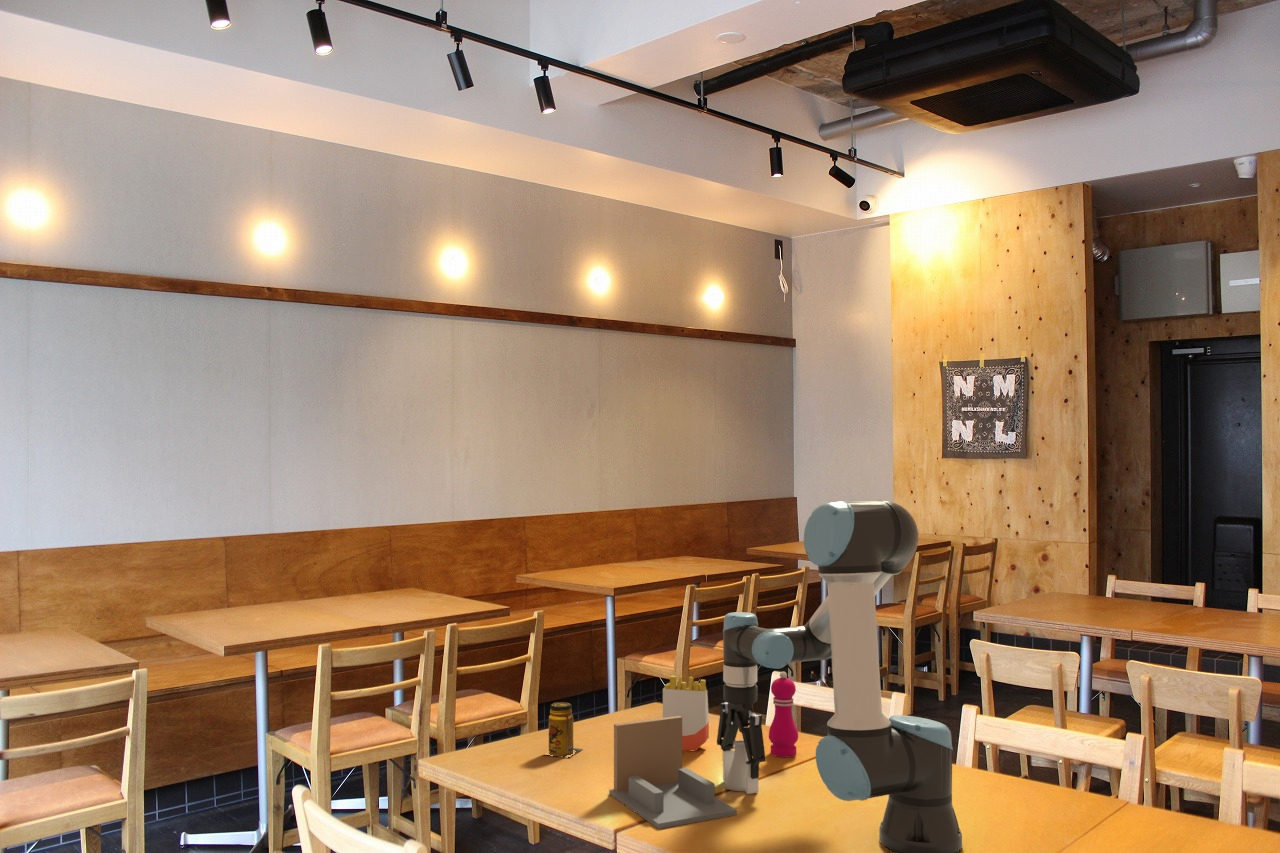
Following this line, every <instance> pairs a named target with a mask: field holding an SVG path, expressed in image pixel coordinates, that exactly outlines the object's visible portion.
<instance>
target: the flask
mask: <svg viewBox="0 0 1280 853" xmlns="http://www.w3.org/2000/svg"><path fill="white" fill-rule="evenodd" d="M733 743H734V746H735V748H734V750H735V752H734V758H733V761H732V764H731V767H730V770H729V773H728V776H727V779H726V781H724V787H725V788H726V790H728V791H729V790H730V791H736V792H746V762H747V761H748V757H747V753H746V749H745V744H744V740H743V739H735V741H733Z"/></svg>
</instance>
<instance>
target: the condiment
mask: <svg viewBox="0 0 1280 853" xmlns="http://www.w3.org/2000/svg"><path fill="white" fill-rule="evenodd" d="M572 709H573V706H572V704H571V703H569V702H562V701H561V702H553V703H551V704H550V710H549V713H550V714H549V716H548V751H549V754H550V755H553V756H567V755H571V754H573V750H575V751H576V752H575V753H576V754H578V753H579V752H581V750H583V749H584V747H574V715H573V710H572ZM553 756H552V757H553ZM565 758H566V759H569V758H568V757H565Z"/></svg>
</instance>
